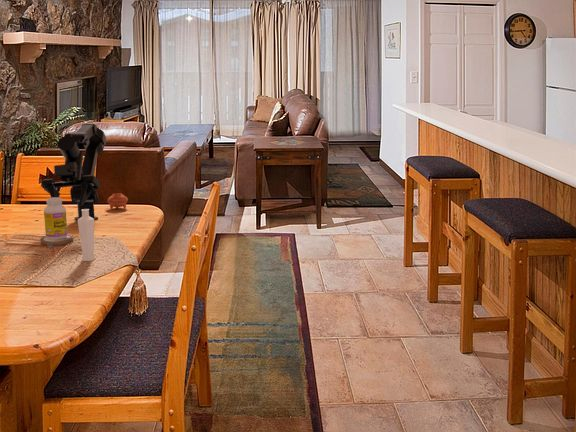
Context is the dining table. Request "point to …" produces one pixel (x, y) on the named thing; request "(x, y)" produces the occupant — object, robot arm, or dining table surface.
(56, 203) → the supplement bottle
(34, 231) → the dining table surface
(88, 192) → the robot arm
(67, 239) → the post base
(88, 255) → the perfume bottle
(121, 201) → the pot
